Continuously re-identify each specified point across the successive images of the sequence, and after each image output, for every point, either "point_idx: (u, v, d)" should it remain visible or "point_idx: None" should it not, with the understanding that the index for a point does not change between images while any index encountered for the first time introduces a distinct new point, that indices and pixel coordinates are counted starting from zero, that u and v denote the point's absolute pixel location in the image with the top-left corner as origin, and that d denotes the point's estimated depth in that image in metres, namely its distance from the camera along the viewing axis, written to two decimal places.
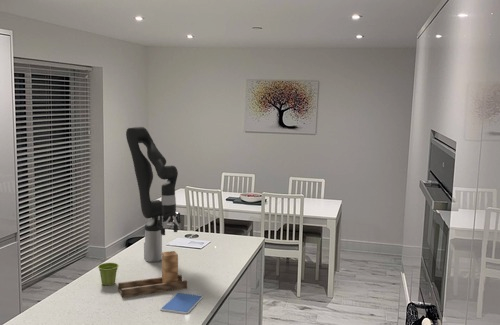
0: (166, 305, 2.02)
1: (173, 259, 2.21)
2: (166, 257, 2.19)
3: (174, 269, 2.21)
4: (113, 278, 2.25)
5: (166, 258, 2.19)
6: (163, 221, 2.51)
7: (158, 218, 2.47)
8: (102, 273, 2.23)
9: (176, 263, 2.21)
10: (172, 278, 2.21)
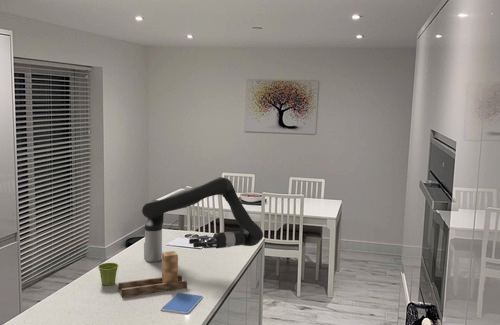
0: (166, 305, 2.02)
1: (173, 259, 2.21)
2: (166, 257, 2.19)
3: (174, 269, 2.21)
4: (113, 278, 2.25)
5: (166, 258, 2.19)
6: None
7: (214, 244, 2.24)
8: (102, 273, 2.23)
9: (176, 263, 2.21)
10: (172, 278, 2.21)
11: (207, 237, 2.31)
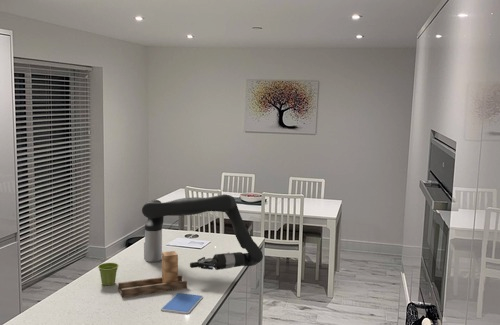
0: (166, 305, 2.02)
1: (173, 259, 2.21)
2: (166, 257, 2.19)
3: (174, 269, 2.21)
4: (113, 278, 2.25)
5: (166, 258, 2.19)
6: None
7: (209, 266, 2.26)
8: (102, 273, 2.23)
9: (176, 263, 2.21)
10: (172, 278, 2.21)
11: (208, 259, 2.32)
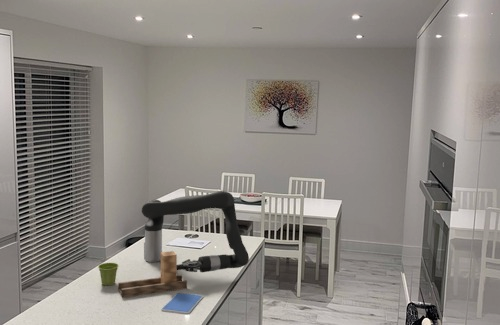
0: (167, 305, 2.02)
1: (172, 259, 2.20)
2: (165, 257, 2.19)
3: (173, 269, 2.21)
4: (113, 278, 2.25)
5: (164, 259, 2.19)
6: None
7: (194, 268, 2.23)
8: (102, 273, 2.23)
9: (175, 263, 2.21)
10: (171, 278, 2.21)
11: (192, 261, 2.29)
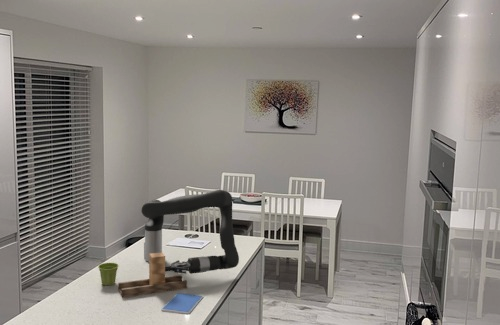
0: (167, 305, 2.02)
1: (160, 261, 2.18)
2: (153, 258, 2.17)
3: (162, 270, 2.19)
4: (113, 278, 2.25)
5: (153, 260, 2.17)
6: None
7: (183, 270, 2.20)
8: (102, 273, 2.23)
9: (163, 265, 2.19)
10: (160, 280, 2.19)
11: (182, 262, 2.26)
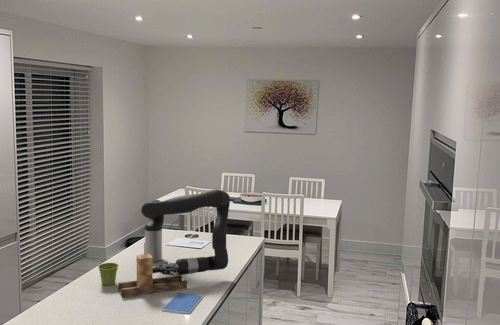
0: (167, 305, 2.02)
1: (147, 262, 2.16)
2: (140, 260, 2.14)
3: (149, 272, 2.16)
4: (113, 278, 2.25)
5: (140, 261, 2.14)
6: None
7: (170, 271, 2.18)
8: (102, 273, 2.23)
9: (151, 266, 2.16)
10: (147, 282, 2.17)
11: (170, 264, 2.24)
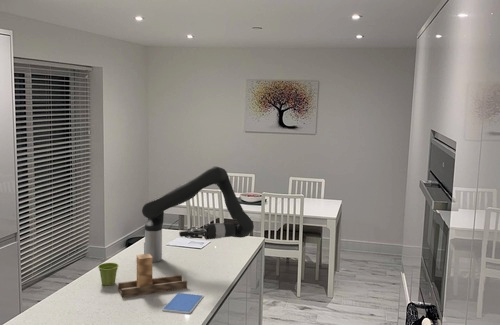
0: (167, 305, 2.01)
1: (147, 262, 2.16)
2: (140, 260, 2.14)
3: (149, 272, 2.16)
4: (113, 278, 2.25)
5: (140, 261, 2.14)
6: None
7: (199, 235, 2.23)
8: (102, 273, 2.23)
9: (151, 266, 2.16)
10: (147, 282, 2.17)
11: (198, 228, 2.29)
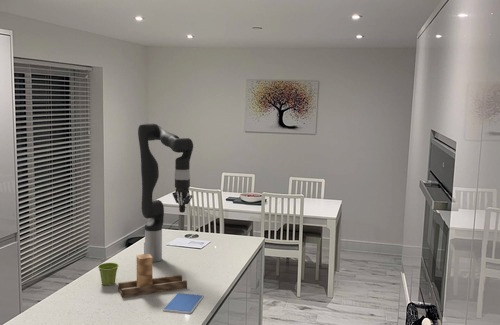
0: (168, 305, 2.01)
1: (147, 262, 2.16)
2: (140, 260, 2.14)
3: (149, 272, 2.16)
4: (113, 278, 2.25)
5: (140, 261, 2.14)
6: None
7: (189, 198, 2.34)
8: (102, 273, 2.23)
9: (151, 266, 2.16)
10: (147, 282, 2.17)
11: (178, 194, 2.37)
